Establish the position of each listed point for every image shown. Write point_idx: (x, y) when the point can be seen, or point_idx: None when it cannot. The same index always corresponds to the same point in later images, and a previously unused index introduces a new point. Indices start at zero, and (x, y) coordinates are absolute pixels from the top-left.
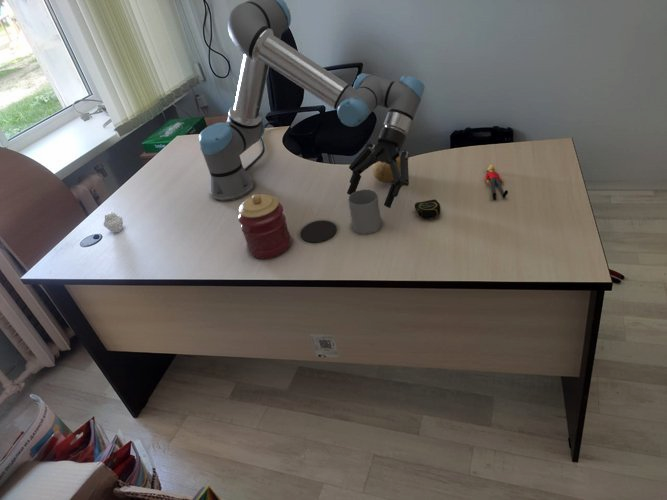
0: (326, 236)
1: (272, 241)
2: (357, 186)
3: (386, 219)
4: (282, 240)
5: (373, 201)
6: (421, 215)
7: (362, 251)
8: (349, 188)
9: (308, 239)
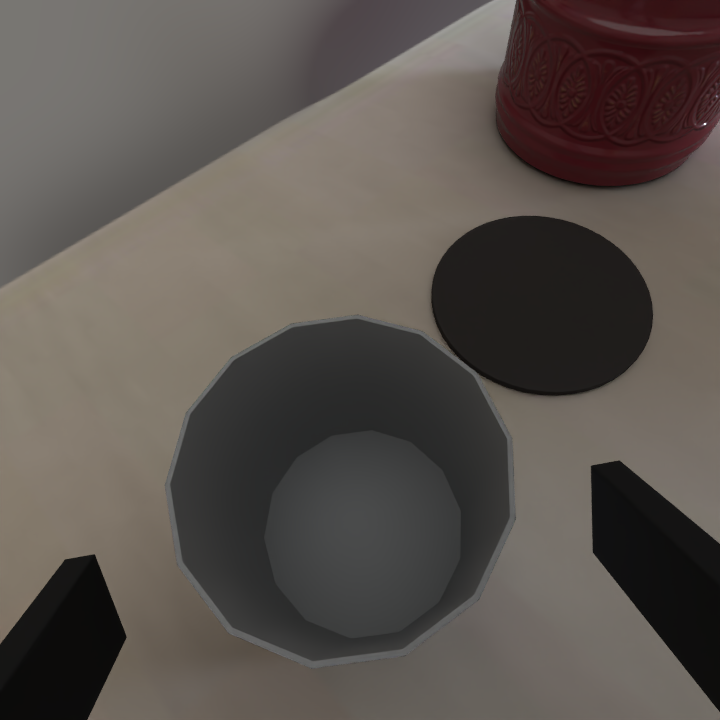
0: (456, 294)
1: (512, 21)
2: (674, 653)
3: (305, 697)
4: (514, 78)
5: (169, 476)
6: None
7: (206, 347)
8: (649, 497)
9: (503, 228)
